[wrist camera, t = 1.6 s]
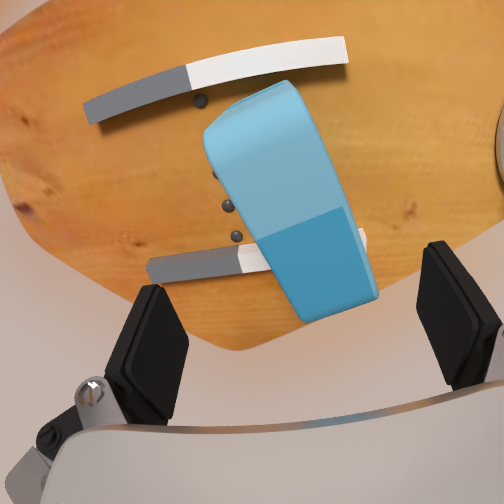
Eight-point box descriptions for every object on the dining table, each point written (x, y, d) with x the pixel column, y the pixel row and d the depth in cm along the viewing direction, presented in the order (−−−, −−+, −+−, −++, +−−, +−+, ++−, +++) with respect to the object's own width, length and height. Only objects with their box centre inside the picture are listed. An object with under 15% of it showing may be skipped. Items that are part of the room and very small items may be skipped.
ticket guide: (339, 37, 18) (343, 36, 17) (362, 246, 28) (366, 256, 27) (91, 100, 22) (82, 103, 21) (157, 274, 31) (152, 284, 30)
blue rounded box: (232, 103, 22) (192, 139, 12) (287, 77, 20) (298, 88, 11) (298, 230, 27) (308, 335, 17) (346, 211, 26) (384, 310, 16)
